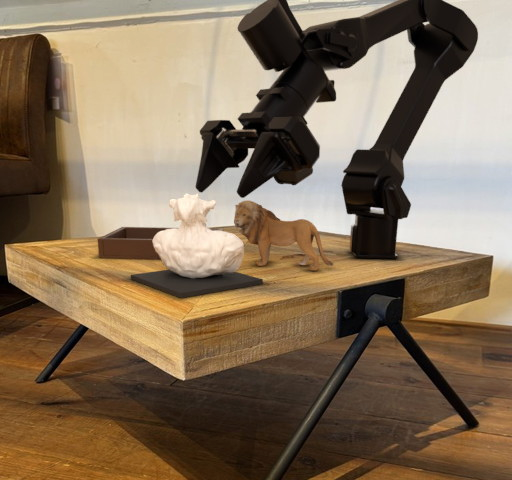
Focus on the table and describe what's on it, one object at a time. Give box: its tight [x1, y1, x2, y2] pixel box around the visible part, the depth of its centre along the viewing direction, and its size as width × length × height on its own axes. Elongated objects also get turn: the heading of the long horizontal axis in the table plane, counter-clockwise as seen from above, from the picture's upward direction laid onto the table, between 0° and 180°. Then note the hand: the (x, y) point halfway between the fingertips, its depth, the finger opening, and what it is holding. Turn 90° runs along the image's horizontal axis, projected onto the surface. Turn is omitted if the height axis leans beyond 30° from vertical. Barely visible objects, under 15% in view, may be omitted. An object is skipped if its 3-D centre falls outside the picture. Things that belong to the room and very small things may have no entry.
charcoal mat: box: [130, 269, 264, 299], centre depth 72 cm, size 12×12×1 cm
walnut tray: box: [97, 226, 225, 260], centre depth 92 cm, size 18×14×3 cm
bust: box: [152, 192, 245, 279], centre depth 70 cm, size 12×8×11 cm
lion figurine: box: [233, 200, 334, 271], centre depth 81 cm, size 15×5×9 cm, turn 74°
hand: (217, 192), depth 71 cm, fingers open, 9 cm apart
